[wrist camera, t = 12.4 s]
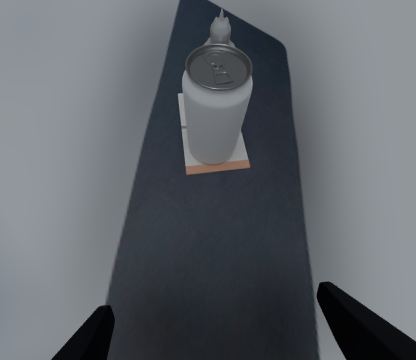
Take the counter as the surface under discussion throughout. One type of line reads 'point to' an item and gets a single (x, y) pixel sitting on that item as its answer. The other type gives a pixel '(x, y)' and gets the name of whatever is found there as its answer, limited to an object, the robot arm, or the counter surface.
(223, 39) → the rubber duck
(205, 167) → the distance mat
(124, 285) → the counter surface
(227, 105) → the can
